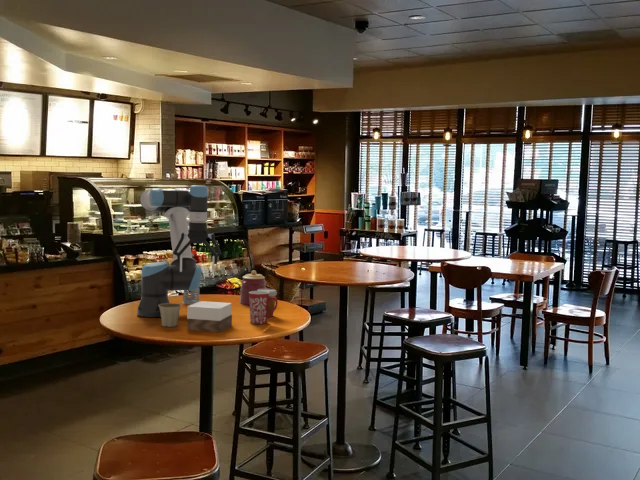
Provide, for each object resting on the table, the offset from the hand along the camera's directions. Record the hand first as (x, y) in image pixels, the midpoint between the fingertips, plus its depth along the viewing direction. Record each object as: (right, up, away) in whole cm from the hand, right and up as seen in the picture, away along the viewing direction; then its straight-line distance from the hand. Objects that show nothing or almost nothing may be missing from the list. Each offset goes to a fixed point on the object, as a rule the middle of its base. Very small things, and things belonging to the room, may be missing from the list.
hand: (197, 271), depth 271 cm
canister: (+19, -19, +49) cm, 56 cm away
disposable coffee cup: (+28, -22, +22) cm, 41 cm away
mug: (+27, -23, +5) cm, 36 cm away
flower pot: (-10, -23, -6) cm, 25 cm away
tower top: (+7, -18, -7) cm, 21 cm away
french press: (-13, -19, +48) cm, 53 cm away
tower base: (+7, -23, -7) cm, 25 cm away
